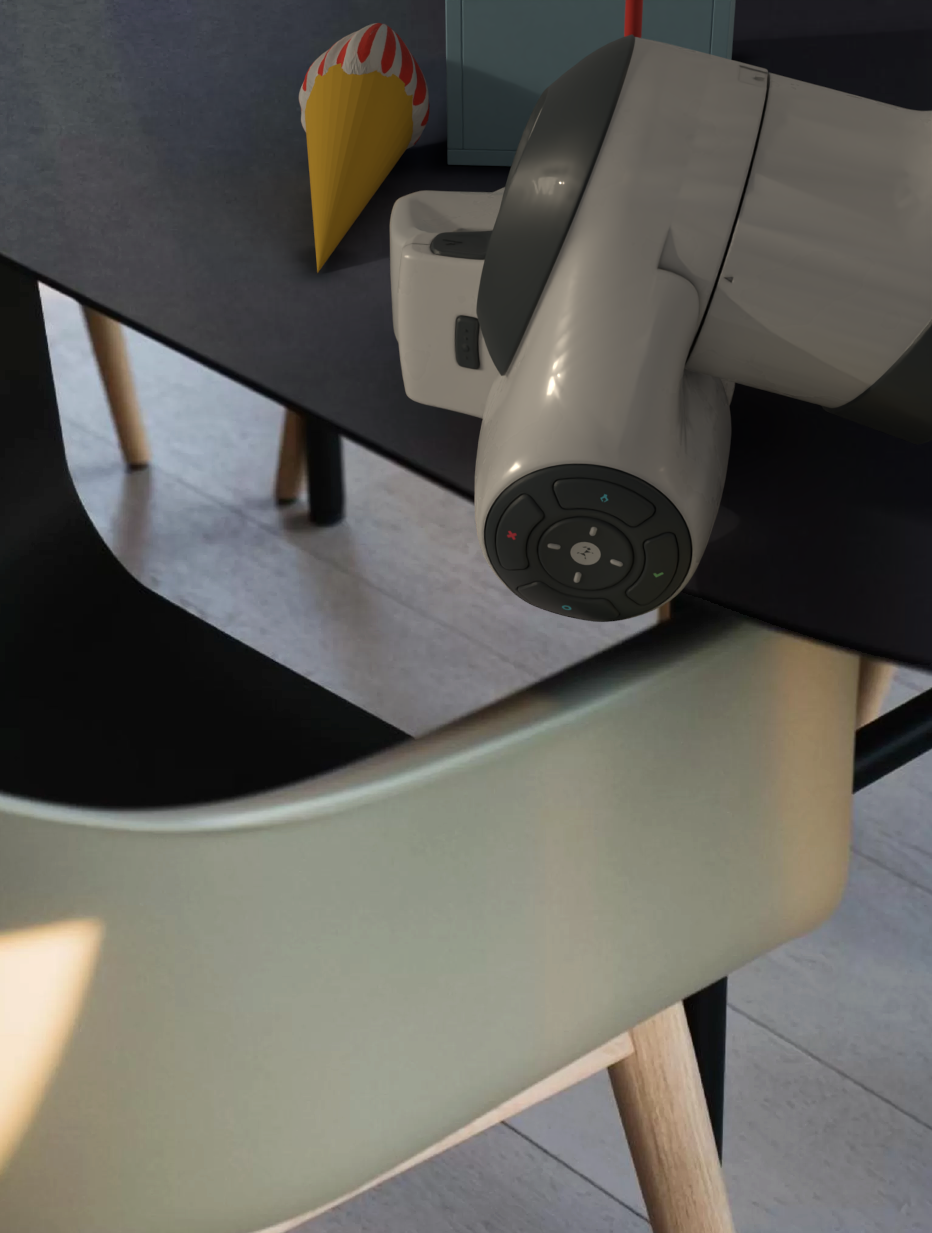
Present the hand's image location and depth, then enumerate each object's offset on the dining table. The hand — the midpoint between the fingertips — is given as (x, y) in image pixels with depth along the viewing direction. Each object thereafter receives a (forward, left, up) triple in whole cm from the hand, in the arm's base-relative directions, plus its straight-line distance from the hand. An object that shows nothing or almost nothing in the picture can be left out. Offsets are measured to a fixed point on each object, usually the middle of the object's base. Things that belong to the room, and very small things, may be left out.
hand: (647, 188), depth 94 cm
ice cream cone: (+15, -12, -6) cm, 20 cm away
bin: (+4, -23, -6) cm, 24 cm away
